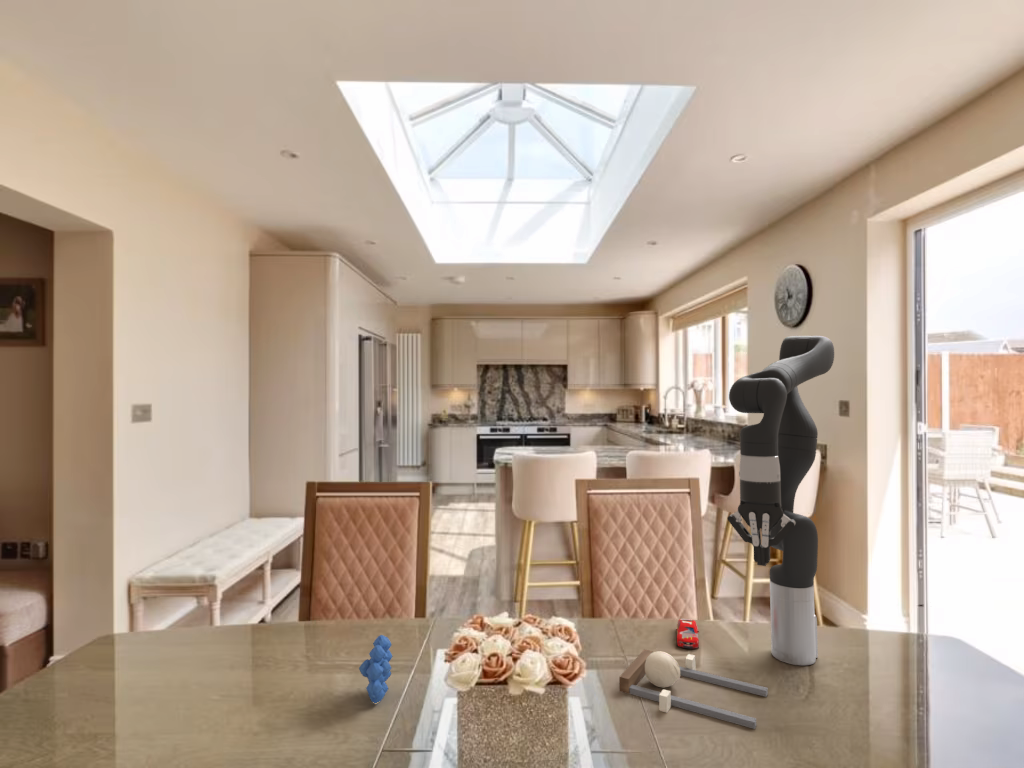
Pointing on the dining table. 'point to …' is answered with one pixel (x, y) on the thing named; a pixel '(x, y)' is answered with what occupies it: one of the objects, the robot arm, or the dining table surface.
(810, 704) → the dining table surface
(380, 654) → the grapes
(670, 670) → the cream round ball
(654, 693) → the rails
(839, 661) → the dining table surface
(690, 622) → the race car
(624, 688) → the backstop
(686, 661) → the line posts
